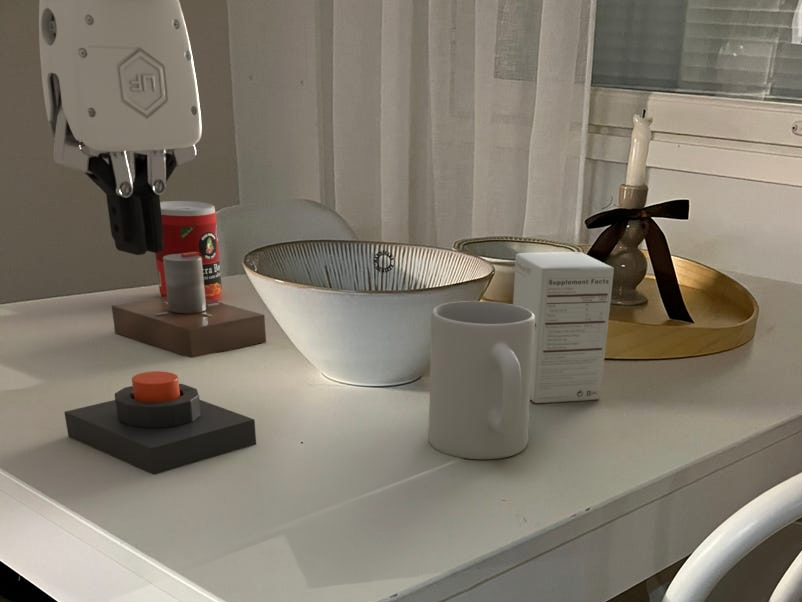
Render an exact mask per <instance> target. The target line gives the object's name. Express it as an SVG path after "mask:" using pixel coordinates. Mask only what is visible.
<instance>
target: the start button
mask: <svg viewBox="0 0 802 602" xmlns="http://www.w3.org/2000/svg"><path fill="white" fill-rule="evenodd" d="M131 384H132V385H131V386H133V393H134V399H135V400H137V401H143V402H164V401H170V400H174V399H178V398H180V390H179V384H180V382H179V376H178V375H177V374H176V373H173V372H169V371H161V370H160V371H158V370H157V371H156V370H155V371H154V370H153V371H145V372H140V373H137V374H135V375H133V376H132V377H131Z"/></svg>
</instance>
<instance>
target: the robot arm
mask: <svg viewBox="0 0 802 602" xmlns="http://www.w3.org/2000/svg"><path fill="white" fill-rule="evenodd" d="M38 2H39V3H38V40H39V59H40V70H41V73H40V74H41V82H42V91H43V98H44V107H45V112H46V117H47V121H48V122H47V123H48V127H49V130H50V134H51V135H52V137H53V139H54V143H53V154H52V155H53V157H52V158H53V161H54V163H55V164H56V165H58V166H60V167H63V168H67V169H71V170H75V171H78V172H82V173H84V174H85V175H86V176H87V177H88V178H89V179H90V180H91V181H92V182H93V183H94V184H95V185H96V186H97V189H98V191H99V192H100V193H102V194H104V195H105V196H106V197H105V198H106V204H107V211H108V219H109V227H110V234H111V237H112V239H113V240H114V245H115V248H116V250H118V251H119V252H124V253H127V254H131V255H135V256H143V255H145V254H147V252H150V253H154V254H155V253H159V252H162V251H163V241H162V236H163V225H162V216H161V206H160V202H161V198H160V196H162V195H164V194H165V193H166V190H167V181H168V180H169V179H170V177H171V175H172V174H173V172H174V171H175V170H176V168H178V167H181V166H183V165H186V164H188V163H189V162H192V161H194V160H195V159H196V157H197V153H198V152H197V149H196V145H197V143H198V142H200V140H201V138H202V131H203V130H202V129H203V128H202V127H203V125H202V113H201V107H200V106H201V104H200V96H199V89H198V82H197V76H196V70H195V64H194V63H195V62H194V57H193V53H192V52H193V51H192V47H191V41H190V38H189V33H188V28H187V25H186V21H185V17H184V13H183V10H182V6H181V2H180V0H39V1H38ZM82 147H87V148H88V150H89V153H87V152H85V151H84V150H83V149H82ZM126 152H129V161H128V157H127V153H126Z"/></svg>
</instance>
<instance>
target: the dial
mask: <svg viewBox="0 0 802 602" xmlns="http://www.w3.org/2000/svg"><path fill="white" fill-rule="evenodd" d="M198 255H199V253H198V252H190V253H183V254H171V255H166V256H164V257H163V262H164V271H165V280H166V289H167V298H168V307H169V311H171V312H174V313H182V314H191V313H199V312H203V311H205V310H206V300H205V289H204V278H203V267H202V258H201V256H198Z"/></svg>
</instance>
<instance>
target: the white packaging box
mask: <svg viewBox="0 0 802 602" xmlns="http://www.w3.org/2000/svg"><path fill="white" fill-rule="evenodd" d="M514 262H515V263H514V278H513V279H514V282H513V284H514V285H513V296H512V305H516V306H520V307H523V308H526V309H528V310H530V311H531V312H532V313H533V314H534V317H535V328H534V343H533V358H532V373H531V388H530V400H531V401H532V403H534V404H545V403H547V404H549V403H565V402H583V401H595V400H599V399H601V395H602V384H603V376H604V366H605V356H606V348H607V347H606V346H607V339H608V338H607V336H608V328H609V318H610V310H611V302H612V301H611V300H612V290H613V282H614V272H615V271H614V270H615V268H614V266H611V265H609V264H606V263H604V262H602V261H601V260H598V259H596V258H595V257H592V256H590V255H588V254H586V253H584V252H582V251H581V252H580V251H553V252H550V251H547V252H519V253H516V254H515V261H514Z"/></svg>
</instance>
